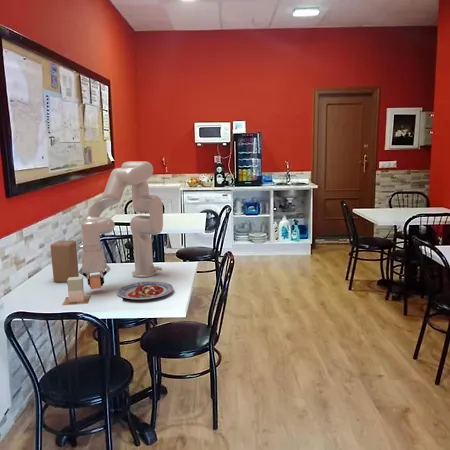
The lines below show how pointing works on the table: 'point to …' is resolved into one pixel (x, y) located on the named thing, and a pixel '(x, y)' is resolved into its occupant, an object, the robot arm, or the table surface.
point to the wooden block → (64, 260)
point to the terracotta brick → (95, 281)
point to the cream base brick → (76, 296)
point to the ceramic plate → (145, 290)
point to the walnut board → (66, 302)
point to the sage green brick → (75, 283)
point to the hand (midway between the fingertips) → (96, 285)
